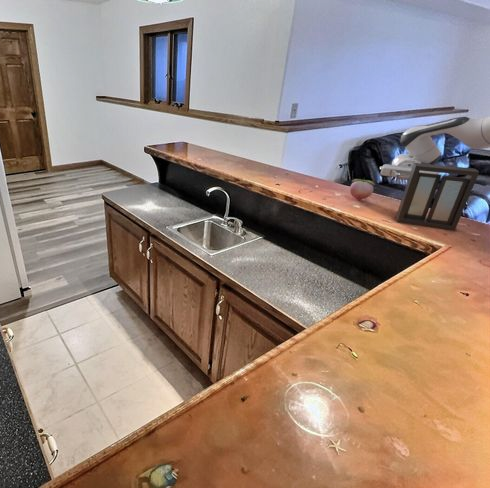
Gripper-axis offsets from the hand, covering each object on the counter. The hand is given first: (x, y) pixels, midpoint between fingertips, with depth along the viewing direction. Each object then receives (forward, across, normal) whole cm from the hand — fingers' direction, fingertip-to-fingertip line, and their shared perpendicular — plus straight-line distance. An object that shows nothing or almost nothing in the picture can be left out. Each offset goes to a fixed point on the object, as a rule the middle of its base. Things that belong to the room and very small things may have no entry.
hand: (411, 177), depth 141 cm
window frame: (+17, +6, +13) cm, 22 cm away
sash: (+14, +2, +11) cm, 18 cm away
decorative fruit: (-3, -16, +13) cm, 21 cm away
